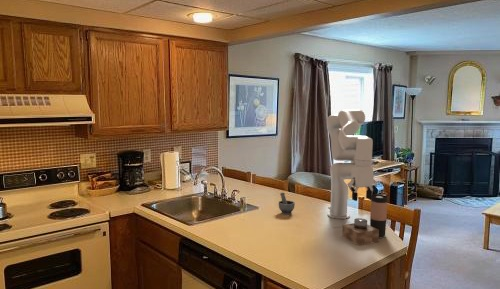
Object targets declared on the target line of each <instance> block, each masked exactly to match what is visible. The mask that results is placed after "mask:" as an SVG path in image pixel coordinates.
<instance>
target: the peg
mask: <svg viewBox="0 0 500 289" xmlns="http://www.w3.org/2000/svg"><path fill="white" fill-rule="evenodd" d="M353 223H354V227H355V228H357V229H367V224H368V219H367V218H359V217H356V218H354V221H353Z"/></svg>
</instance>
